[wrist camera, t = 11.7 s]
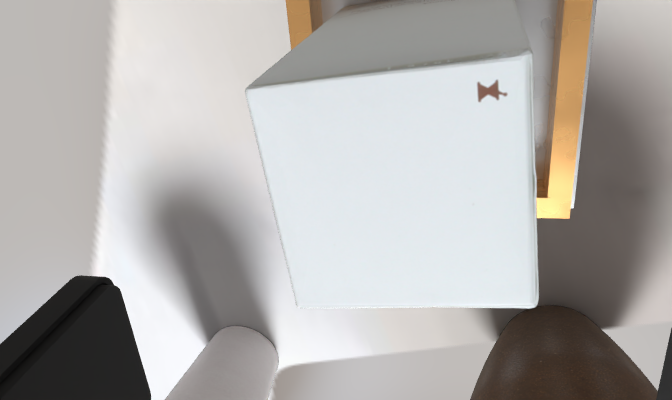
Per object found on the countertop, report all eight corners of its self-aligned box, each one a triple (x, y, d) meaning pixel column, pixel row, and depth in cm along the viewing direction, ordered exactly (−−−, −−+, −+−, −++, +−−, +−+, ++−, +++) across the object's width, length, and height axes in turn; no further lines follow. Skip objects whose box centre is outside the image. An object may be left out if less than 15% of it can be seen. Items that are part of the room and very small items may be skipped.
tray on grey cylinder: (566, -96, 32) (618, -97, 20) (547, 127, 38) (580, 228, 26) (329, -75, 35) (254, -65, 23) (344, 129, 41) (291, 220, 29)
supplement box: (338, 3, 26) (235, 77, 15) (512, -21, 24) (544, 43, 13) (361, 157, 29) (290, 313, 18) (517, 147, 27) (545, 315, 16)
